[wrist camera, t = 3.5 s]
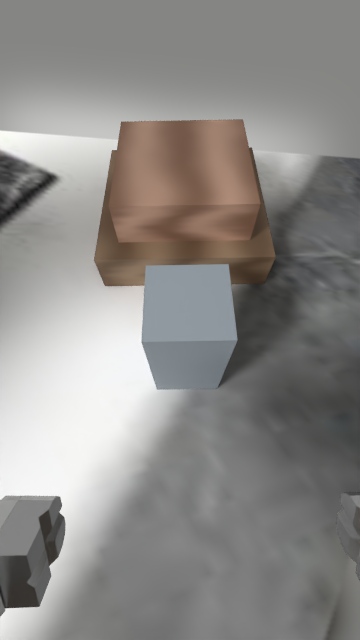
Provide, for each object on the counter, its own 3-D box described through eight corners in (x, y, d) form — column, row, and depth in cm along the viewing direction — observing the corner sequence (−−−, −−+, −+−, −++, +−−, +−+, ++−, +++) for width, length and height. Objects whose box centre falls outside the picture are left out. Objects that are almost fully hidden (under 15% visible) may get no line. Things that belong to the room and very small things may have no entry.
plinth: (105, 286, 29) (79, 225, 21) (119, 181, 36) (103, 111, 29) (264, 283, 28) (291, 221, 21) (245, 179, 36) (260, 108, 29)
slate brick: (157, 389, 24) (141, 341, 15) (158, 334, 26) (145, 265, 17) (217, 388, 24) (237, 340, 15) (213, 334, 26) (228, 264, 17)
